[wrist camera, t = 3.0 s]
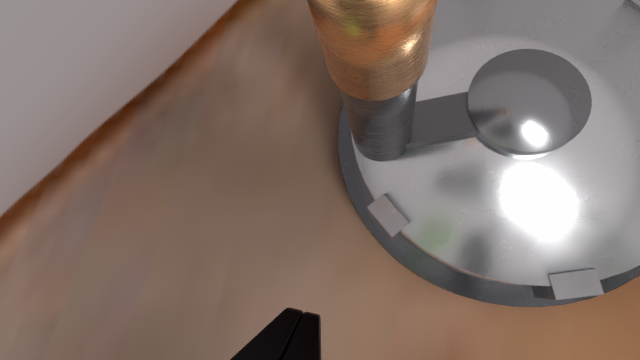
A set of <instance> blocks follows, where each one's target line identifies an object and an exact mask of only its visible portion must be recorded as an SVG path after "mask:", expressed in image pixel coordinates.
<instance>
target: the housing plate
mask: <svg viewBox="0 0 640 360" xmlns="http://www.w3.org/2000/svg"><path fill="white" fill-rule="evenodd" d="M338 151H339V158H340V165H341V170H342V174H343V178H344V181H345V185H346V188H347V190H348V193H349V195H350V197H351V200H352V202H353V204H354V206H355V208H356V210H357V212H358V214H359V216H360V217H361V219H362V220H363V222H364V224H365V225H366V227H367V229H368V230H369V231H370V232H371V234H372V235H373V236H374V238H375V239H376V240H377V241H378V243H379V244H380V245H381V246H382V247H383V248H384V249H385V250H386V251H387V252H388V253H389V254H390V255H391V256H392V257H393V258H394V259H395V260H397V261H398V262H399V263H401V264H402V265H403V266H405V267H406V268H407V269H409V270H410V271H411V272H413V273H414V274H416V275H417V276H419V277H421V278H423V279H424V280H426V281H428V282H430V283H431V284H433V285H435V286H438V287H440V288H442V289H445V290H447V291H450V292H452V293H454V294H457V295H461V296H464V297H468V298H471V299H475V300H478V301H483V302H487V303H494V304H500V305H507V306H519V307H544V306H554V305H564V304H569V303H573V302H577V301H582V300H586V299H590V298H593V297H596V296H598V295H595V296H587V297H578V298H570V299H561V300H551V299H543V298H535V297H534V294H533V290H532V286H531V285H516V284H503V283H497V282H492V281H487V280H482V279H478V278H475V277H472V276H469V275H466V274H462V273H459V272H457V271H455V270H453V269H450V268H448V267H446V266H444V265H442V264H440V263H437V262H436V261H434V260H433V259H431V258H429V257H428V256H426V255H425V254H423V253H421V252H420V251H418V250H417V249H416V248H415V247H413V246H412V245H411V244H410V243H408V242H407V241H406V240H405V239H403V238H402V237H401V236H399V237H398V238H397V239H396V240H394V241H393V242H391V240H390V239H389V238H388V237H387V236H386V234H385V233H384V232H383V231H382V230H381V228H380V227H379V226H378V225H377V224H376V222H375V221H374V220H373V219H372V218H371V216H370V215H369V212H368V209H367V207H368V206H369V205H370V204H371V203H373V200H372V198H371V196H370V195H369V193H368V191H367V189H366V186H365V184H364V181H363V178H362V176H361V173H360V170H359V167H358V163H357V160H356V156H355V151H354V147H353V143H352V136H351V128H350V124H349V121H348V117H347V113H346V110H345V106H344V102H343V106H342V109H341V114H340V121H339V129H338ZM639 275H640V265H639V266H637V267H635V268H633V269H631V270H629V271H626V272H623V273H620V274H617V275H614V276H611V277H608V278H605V279H602V280H600V283H601V286H602V289H603V292H604V293H606V292H608V291H611V290H614V289H616V288H618V287H620V286H622V285H623V284H625V283H627V282H628V281H630V280H632V279H634V278H635V277H637V276H639Z"/></svg>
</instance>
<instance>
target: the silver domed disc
mask: <svg viewBox="0 0 640 360" xmlns="http://www.w3.org/2000/svg"><path fill="white" fill-rule="evenodd" d="M307 2H308V5H309V8H310V11H311V15H312V18H313V21H314V25H315V28H316V31H317V35H318V38H319V41H320V44H321V48H322V51H323V54H324V58H325V61H326V64H327V68H328V71H329V74H330V76H331V78H332V80H333V81H334V83H335V84H336V85H337V86H338V87H339V88H340V91H341V95H342V99H343V102H344V106H345V110H346V113H347V117H348V121H349V124H350V128H351V136H352V143H353V147H354V151H355V156H356V160H357V163H358V167H359V170H360V173H361V176H362V178H363V181H364V184H365V186H366V189H367V191H368V193H369V195H370V196H371V198H372V200H373V203H371V204H370V205H369V206H368V207H367V209H368V212H369V215H370V216H371V218H372V219H373V220H374V221H375V222H376V224H377V225H378V226H379V227H380V228H381V230H382V231H383V232H384V233H385V234H386V236H387V237H388V238H389V239H390V240H391V242H393V241H394V240H396V239H397V238H398V237H399V236H401V237H402V238H403V239H405V240H406V241H407V242H408V243H410V244H411V245H412V246H413V247H415V248H416V249H417V250H418V251H420V252H421V253H423V254H425V255H426V256H428V257H429V258H431V259H433V260H434V261H436V262H437V263H440V264H442V265H444V266H446V267H448V268H450V269H453V270H455V271H457V272H459V273H462V274H466V275H469V276H472V277H475V278H478V279H482V280H487V281H492V282H497V283H503V284H516V285H531V286H532V290H533V294H534V297H535V298H543V299H551V300H561V299H570V298H578V297H587V296H595V295H604V292H603V289H602V286H601V283H600V280H602V279H605V278H608V277H611V276H614V275H617V274H620V273H623V272H626V271H629V270H631V269H633V268H635V267H637V266H639V265H640V0H307Z"/></svg>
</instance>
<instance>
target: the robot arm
mask: <svg viewBox="0 0 640 360" xmlns="http://www.w3.org/2000/svg"><path fill="white" fill-rule="evenodd" d="M230 360H321V319H320V315H318V314H314V313H310V312H304V313H303V311H301V310H298V309H294V308H286V309H285V310H284V311H283V312H281V313H280V314H279V315H278V316H277V317H276V318H275V319H274V320H273V321H272V322H271V323H270V324H268V325H267V326H266V327H265V328H264V329H263V330H262V331H261V332H260V333H259V334H258V335H256V336H255V337H254V338H253V339H252V340H251V341H250V342H249V343H248V344H247V345H246V346H245V347H243V348H242V349H241V350H240V351H239V352H238V353H237V354H236V355H235V356H234V357H233V358H231V359H230Z"/></svg>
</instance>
